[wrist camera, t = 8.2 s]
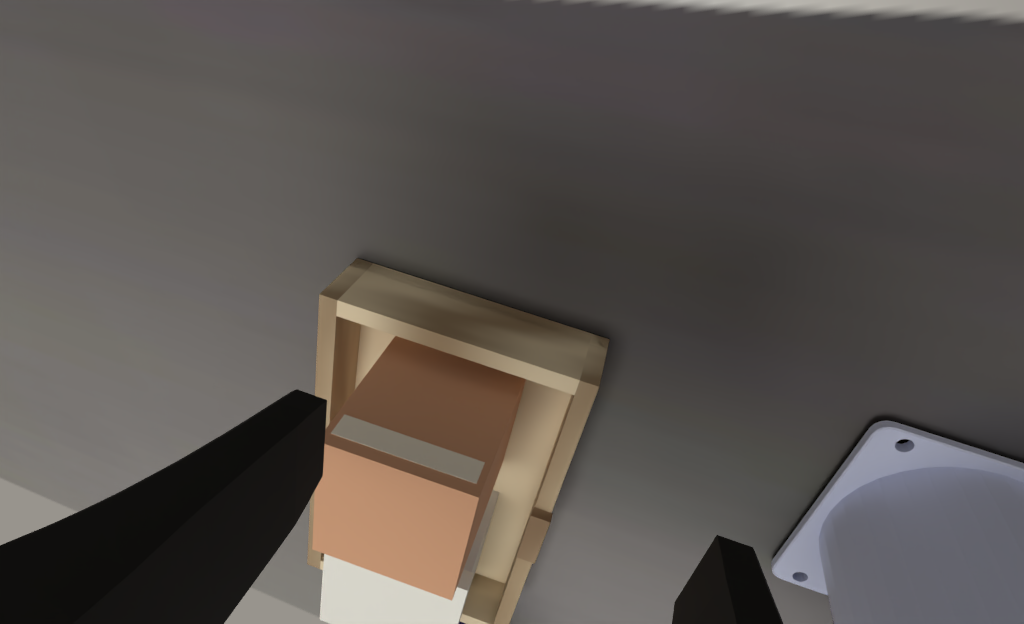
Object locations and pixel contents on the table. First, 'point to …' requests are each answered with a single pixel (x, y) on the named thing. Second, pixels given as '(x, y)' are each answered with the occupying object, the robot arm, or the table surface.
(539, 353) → the light wooden tray
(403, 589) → the white foam cube
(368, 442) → the brown cardboard box
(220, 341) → the table surface
